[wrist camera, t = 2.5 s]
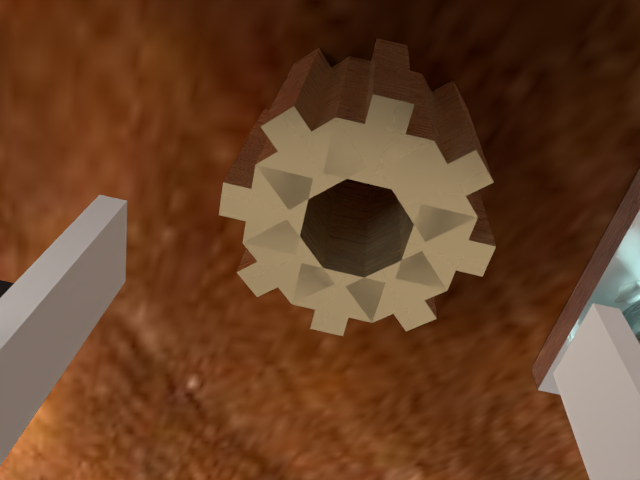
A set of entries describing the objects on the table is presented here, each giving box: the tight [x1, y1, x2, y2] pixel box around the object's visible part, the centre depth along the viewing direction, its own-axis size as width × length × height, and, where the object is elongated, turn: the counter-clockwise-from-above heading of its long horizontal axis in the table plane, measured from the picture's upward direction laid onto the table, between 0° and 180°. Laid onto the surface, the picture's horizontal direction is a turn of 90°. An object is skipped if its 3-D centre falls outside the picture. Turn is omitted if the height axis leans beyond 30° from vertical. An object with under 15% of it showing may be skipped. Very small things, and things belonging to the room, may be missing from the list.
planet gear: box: [219, 38, 496, 336], centre depth 21 cm, size 9×9×7 cm
